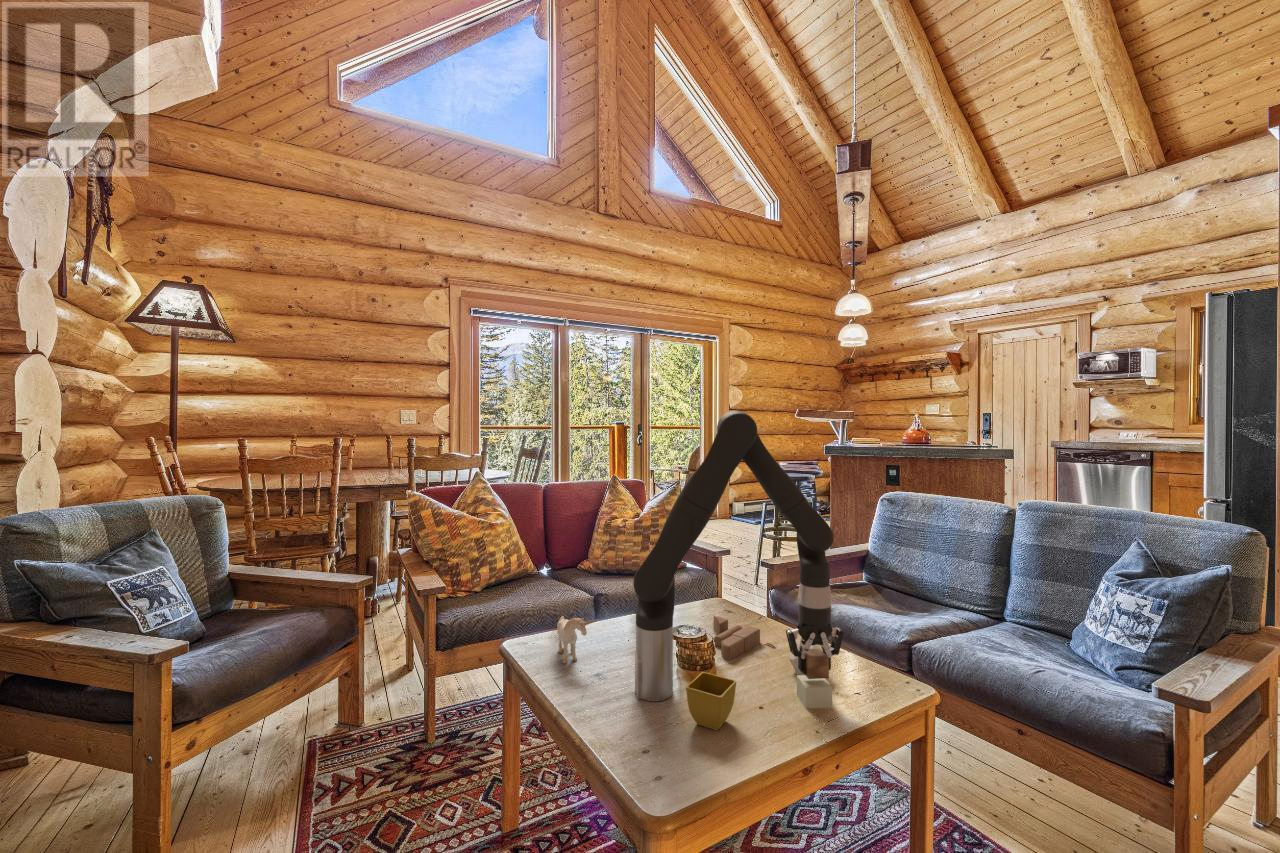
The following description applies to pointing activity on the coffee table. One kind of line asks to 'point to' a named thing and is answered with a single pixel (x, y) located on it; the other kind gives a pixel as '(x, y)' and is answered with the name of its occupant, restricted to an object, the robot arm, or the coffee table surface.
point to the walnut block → (817, 664)
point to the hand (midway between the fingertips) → (814, 671)
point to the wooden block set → (734, 638)
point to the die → (795, 659)
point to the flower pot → (710, 699)
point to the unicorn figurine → (570, 634)
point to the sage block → (814, 692)
